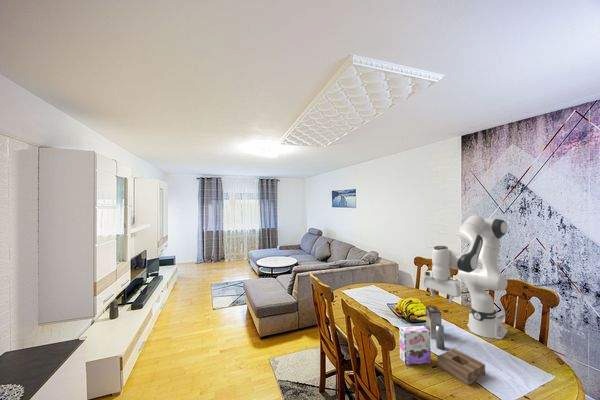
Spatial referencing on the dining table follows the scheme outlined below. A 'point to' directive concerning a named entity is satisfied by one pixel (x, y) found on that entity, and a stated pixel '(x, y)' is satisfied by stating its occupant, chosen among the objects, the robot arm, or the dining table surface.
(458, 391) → the dining table surface
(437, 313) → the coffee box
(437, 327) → the pin
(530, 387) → the dining table surface
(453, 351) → the socket block
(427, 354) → the candy box
